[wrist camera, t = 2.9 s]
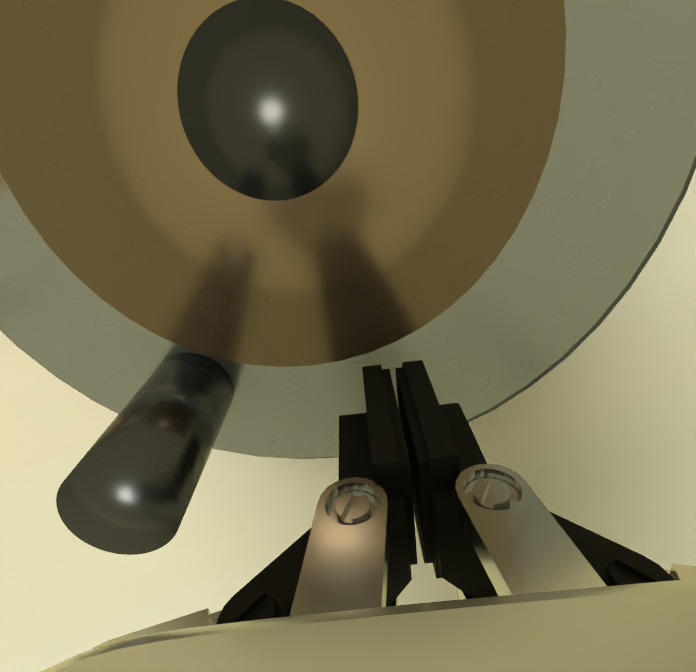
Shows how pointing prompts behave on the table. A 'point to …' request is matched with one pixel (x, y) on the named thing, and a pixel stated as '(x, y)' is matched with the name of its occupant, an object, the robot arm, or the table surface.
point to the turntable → (317, 211)
